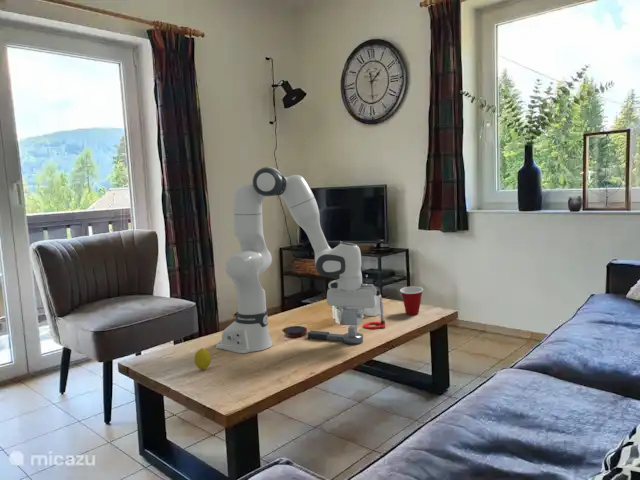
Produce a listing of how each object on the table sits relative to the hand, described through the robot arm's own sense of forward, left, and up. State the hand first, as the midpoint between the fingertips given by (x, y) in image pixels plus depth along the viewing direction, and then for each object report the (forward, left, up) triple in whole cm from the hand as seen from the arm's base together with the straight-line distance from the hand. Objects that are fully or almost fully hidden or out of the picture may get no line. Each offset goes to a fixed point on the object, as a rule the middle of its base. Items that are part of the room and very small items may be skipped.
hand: (352, 317), depth 200 cm
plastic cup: (+13, +46, -10) cm, 49 cm away
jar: (-5, +41, -10) cm, 43 cm away
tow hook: (+2, +22, -10) cm, 24 cm away
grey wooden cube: (0, 0, -2) cm, 2 cm away
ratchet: (-8, 0, -10) cm, 12 cm away
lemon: (-40, -44, -10) cm, 60 cm away
